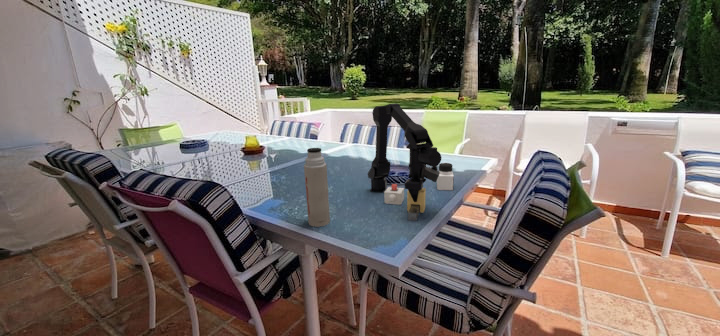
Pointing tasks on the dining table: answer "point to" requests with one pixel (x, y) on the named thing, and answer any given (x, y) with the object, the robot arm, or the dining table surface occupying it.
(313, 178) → the thermos bottle
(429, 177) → the robot arm
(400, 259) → the dining table surface
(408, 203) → the block
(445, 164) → the medicine bottle
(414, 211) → the rail
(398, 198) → the white button housing
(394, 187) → the button
